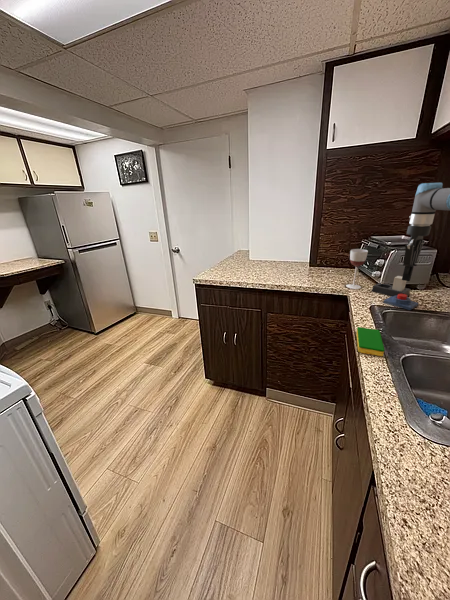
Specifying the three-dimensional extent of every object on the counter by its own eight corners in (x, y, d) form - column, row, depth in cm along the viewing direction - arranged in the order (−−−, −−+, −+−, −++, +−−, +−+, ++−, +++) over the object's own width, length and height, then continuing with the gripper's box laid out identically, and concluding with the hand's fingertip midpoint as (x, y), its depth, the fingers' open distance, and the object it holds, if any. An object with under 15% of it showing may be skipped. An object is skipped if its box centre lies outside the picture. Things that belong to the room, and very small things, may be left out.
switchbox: (417, 305, 111) (419, 299, 110) (410, 310, 107) (412, 303, 106) (391, 298, 120) (392, 292, 119) (383, 302, 116) (384, 296, 114)
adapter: (409, 294, 123) (410, 289, 121) (402, 298, 119) (403, 293, 117) (379, 287, 133) (380, 282, 132) (371, 291, 129) (373, 285, 128)
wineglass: (347, 289, 134) (353, 252, 126) (343, 283, 142) (348, 249, 134) (363, 289, 132) (370, 252, 124) (358, 284, 140) (364, 248, 132)
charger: (403, 294, 123) (407, 277, 120) (399, 296, 121) (403, 279, 118) (394, 292, 126) (398, 275, 123) (390, 294, 124) (394, 277, 121)
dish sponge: (378, 335, 90) (379, 329, 89) (383, 356, 78) (384, 350, 77) (356, 332, 93) (357, 326, 92) (358, 352, 81) (359, 346, 80)
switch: (407, 298, 112) (408, 295, 111) (404, 300, 110) (405, 297, 109) (398, 296, 115) (399, 293, 114) (395, 298, 113) (396, 295, 112)
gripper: (415, 222, 106) (402, 275, 115) (402, 226, 99) (389, 281, 109) (437, 223, 100) (421, 278, 110) (424, 227, 94) (409, 285, 103)
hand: (405, 280), depth 109 cm, fingers closed
